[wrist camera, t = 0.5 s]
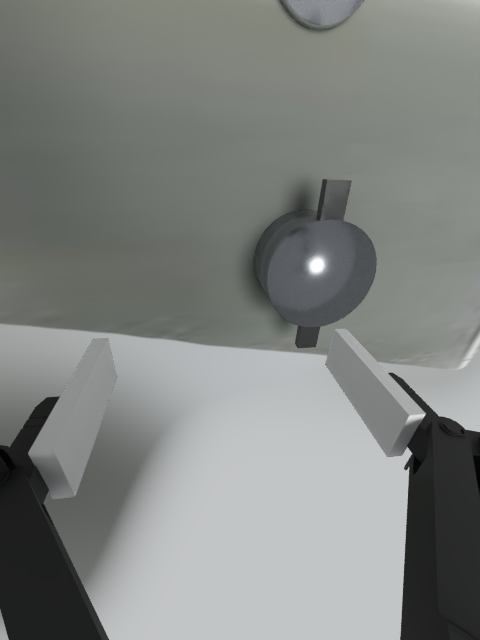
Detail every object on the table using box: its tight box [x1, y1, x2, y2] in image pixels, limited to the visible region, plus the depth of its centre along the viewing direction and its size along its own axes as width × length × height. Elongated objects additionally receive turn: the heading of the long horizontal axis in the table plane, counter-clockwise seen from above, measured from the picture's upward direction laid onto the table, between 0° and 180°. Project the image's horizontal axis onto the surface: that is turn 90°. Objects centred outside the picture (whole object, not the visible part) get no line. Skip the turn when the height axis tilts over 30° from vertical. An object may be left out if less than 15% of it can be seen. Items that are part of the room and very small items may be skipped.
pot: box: [254, 179, 376, 348], centre depth 37 cm, size 22×14×9 cm, turn 178°
